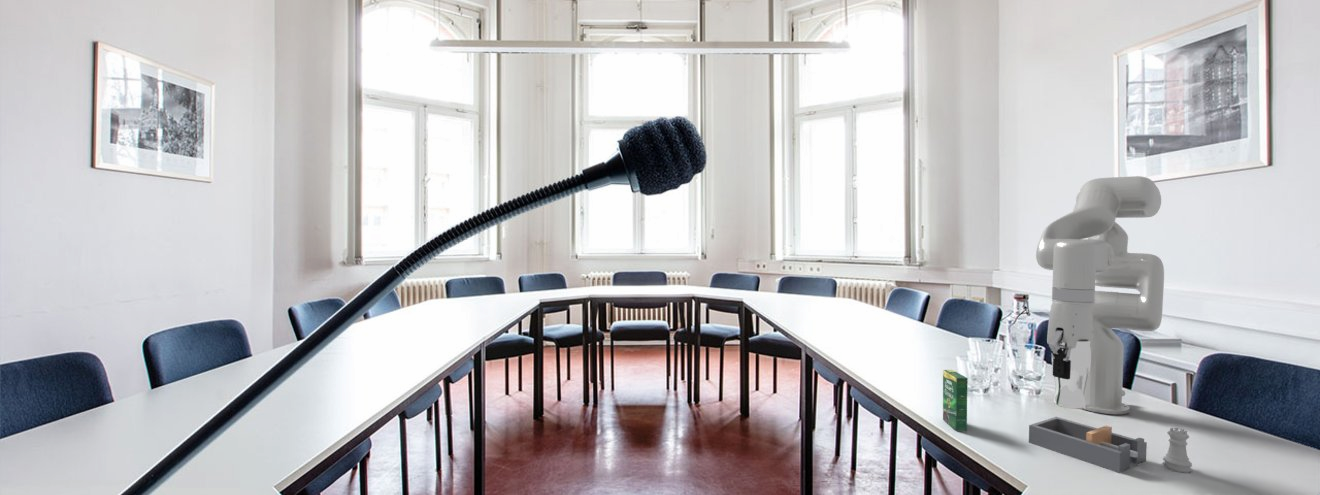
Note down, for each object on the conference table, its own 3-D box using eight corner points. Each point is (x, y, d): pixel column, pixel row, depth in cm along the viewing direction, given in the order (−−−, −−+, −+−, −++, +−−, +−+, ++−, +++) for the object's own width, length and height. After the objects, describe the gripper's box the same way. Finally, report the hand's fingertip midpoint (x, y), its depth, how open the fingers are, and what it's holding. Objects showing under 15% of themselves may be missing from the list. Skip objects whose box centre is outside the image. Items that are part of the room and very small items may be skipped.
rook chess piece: (1155, 464, 111) (1157, 426, 111) (1175, 463, 112) (1176, 425, 111) (1178, 474, 107) (1179, 434, 107) (1198, 473, 107) (1200, 433, 107)
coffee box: (941, 419, 137) (942, 368, 137) (953, 419, 137) (954, 368, 136) (954, 431, 129) (956, 377, 129) (967, 431, 129) (968, 378, 128)
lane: (1055, 433, 128) (1056, 412, 128) (1146, 461, 113) (1146, 437, 113) (1028, 442, 123) (1029, 420, 122) (1119, 472, 108) (1120, 448, 107)
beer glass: (1096, 411, 116) (1098, 342, 115) (1060, 408, 117) (1062, 341, 117) (1078, 400, 123) (1080, 335, 122) (1044, 398, 124) (1046, 334, 123)
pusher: (1105, 447, 118) (1106, 425, 118) (1145, 460, 112) (1146, 436, 111) (1085, 455, 114) (1086, 432, 114) (1126, 468, 108) (1127, 444, 107)
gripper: (1074, 292, 126) (1071, 367, 127) (1032, 296, 118) (1030, 376, 119) (1112, 295, 120) (1110, 375, 120) (1071, 300, 112) (1068, 385, 112)
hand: (1070, 375), depth 120 cm, fingers closed on beer glass, 6 cm apart
